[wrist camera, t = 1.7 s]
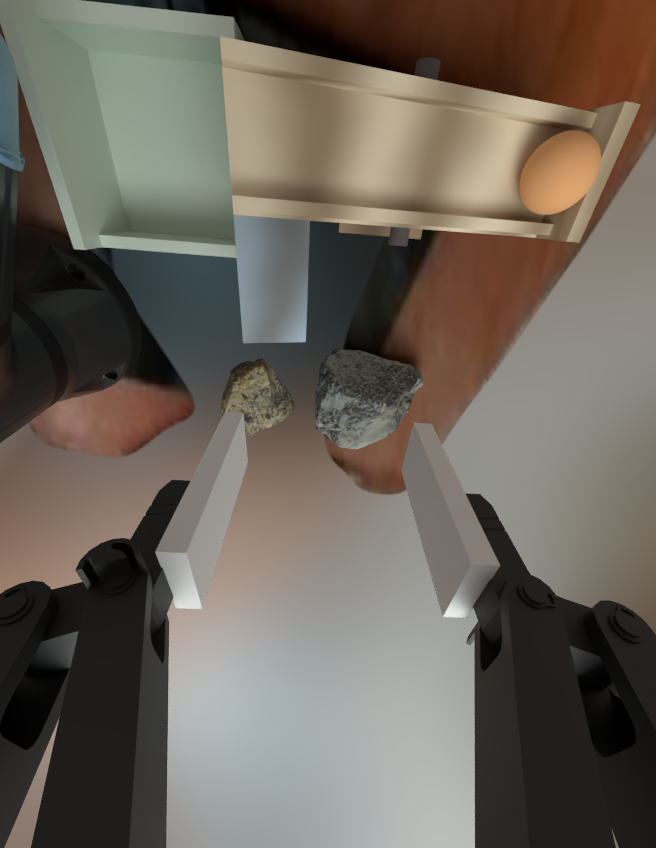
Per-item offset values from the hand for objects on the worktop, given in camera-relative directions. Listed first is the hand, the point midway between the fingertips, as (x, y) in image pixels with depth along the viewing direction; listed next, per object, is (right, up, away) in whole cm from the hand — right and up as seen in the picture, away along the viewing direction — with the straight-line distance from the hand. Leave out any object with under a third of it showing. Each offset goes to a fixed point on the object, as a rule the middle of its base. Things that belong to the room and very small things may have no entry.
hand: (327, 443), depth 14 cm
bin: (-11, +22, +11) cm, 27 cm away
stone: (+3, +6, +22) cm, 23 cm away
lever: (+4, +13, +6) cm, 16 cm away
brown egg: (+13, +14, +3) cm, 19 cm away
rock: (-8, +4, +23) cm, 25 cm away
